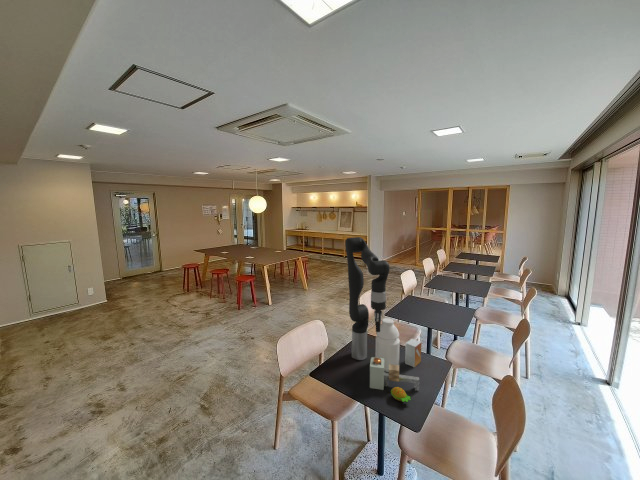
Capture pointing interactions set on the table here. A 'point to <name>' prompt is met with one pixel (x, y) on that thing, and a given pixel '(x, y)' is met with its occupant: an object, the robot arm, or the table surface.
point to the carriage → (394, 373)
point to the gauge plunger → (377, 361)
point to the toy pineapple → (400, 394)
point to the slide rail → (404, 380)
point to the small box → (413, 352)
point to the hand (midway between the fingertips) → (377, 331)
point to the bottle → (388, 343)
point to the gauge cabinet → (377, 374)
